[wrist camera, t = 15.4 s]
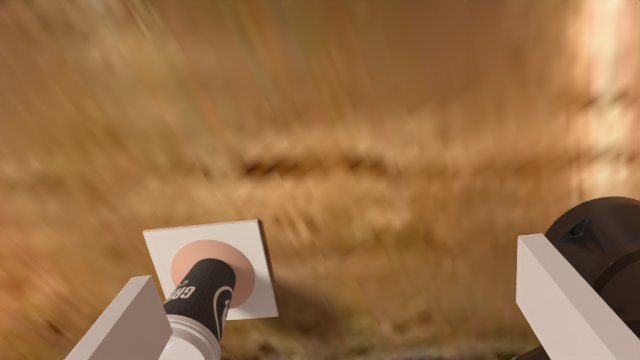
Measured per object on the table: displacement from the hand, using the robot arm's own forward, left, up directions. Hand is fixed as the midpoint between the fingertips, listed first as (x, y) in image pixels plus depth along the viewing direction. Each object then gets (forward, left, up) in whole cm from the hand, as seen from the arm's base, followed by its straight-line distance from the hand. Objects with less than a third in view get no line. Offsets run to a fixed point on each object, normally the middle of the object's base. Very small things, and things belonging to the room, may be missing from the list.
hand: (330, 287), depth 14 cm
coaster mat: (+21, +22, -34) cm, 46 cm away
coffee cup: (+21, +22, -34) cm, 45 cm away
